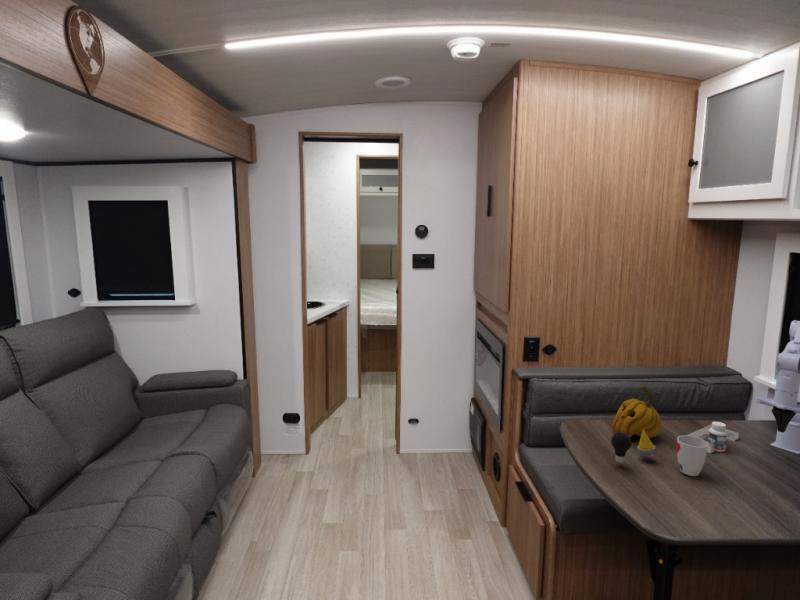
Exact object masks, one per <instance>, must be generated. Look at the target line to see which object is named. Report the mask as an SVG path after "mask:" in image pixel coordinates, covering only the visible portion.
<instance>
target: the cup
mask: <svg viewBox="0 0 800 600" xmlns="http://www.w3.org/2000/svg"><path fill="white" fill-rule="evenodd" d="M707 442H708V441H707ZM707 442H706V441H704V440H702V439H700V438H697V437H693V436H686V435H679V436H677V438H676V455H677V456H676V457H677V464H678V467H679V472H680V473H682V474H683V475H687V476H689V477H690V476H691V477H697V476H699V475H700V474H701V471H702V470H703V468H704V464H705V463H706V458H707V454H708V452H707V449H708V443H707Z"/></svg>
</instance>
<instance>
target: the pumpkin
mask: <svg viewBox="0 0 800 600" xmlns="http://www.w3.org/2000/svg"><path fill="white" fill-rule="evenodd" d="M638 388H639V389H640V390H641V391H642V392H644V393H645V394H646V395H647V396H648V398H649V399H648V400H646V402H645V401H642V400H640V399H637V398H630V399H627V400H624V401H623V402H622V403H621V405H620V407H619V408H618V410H617V411H616V414H615V416H614V418H613V421H612V423H611V429H612V432H613V433H614V434H615V433H618V432H621V433H625V434H627V435H628V436H629V437H630V438H631V437H633V436H634V435H637V436H639V437H640V438H641V435H642V431H643V429H644V431H645V432H646V435H647V436H648V437H649V439H652V438H655V437H656V436H657V435H659V434H660V431H661V429H662V418H661V417H660V416H661V415H659V412H658V411H657V410H656V409H655V408H654V407H653V405H652V403H654V401H655V395H654V393H653V392H652V391H651V390H650V389H649V388H648V387H647V386H646V385H645V384H644V383H641V384H639V386H638Z"/></svg>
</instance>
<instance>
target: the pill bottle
mask: <svg viewBox="0 0 800 600" xmlns="http://www.w3.org/2000/svg"><path fill="white" fill-rule="evenodd" d="M711 424H712V428H710V429H709V436H708V441H707V442H710V443H713V444H715V452H719V453H721V452H722V453H723V452H726V450H727V443H728V439H727V431H725V429H727V425H726V424H725V423H723V422H721V421H712V422H711Z"/></svg>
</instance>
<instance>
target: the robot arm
mask: <svg viewBox="0 0 800 600" xmlns="http://www.w3.org/2000/svg"><path fill="white" fill-rule="evenodd" d="M788 333H789V340H790V341H789V342H787V344H786V345H785V348H784V349H783V351H781V353H780V352H778V354H777V356H776V359H775V368H776V369H775V375H776V379H775V386H774V387H775V388H774V397H773V398H771V397H770V398H768V397H763V396H758V397H756V404H759V405H760V404H761V405H766V406H769V407H772V408H771V413H772V415H773V417H774V419H775V424H776V427H777V430H776V437H775V441H773V442H772V443H771V444H770V446H772V447H774V448H778V449H780V450H784V451H787V452H790V453H794V454H797V455H800V320H796V319H794V320H792V321H791V322H790V326H789V332H788Z"/></svg>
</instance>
